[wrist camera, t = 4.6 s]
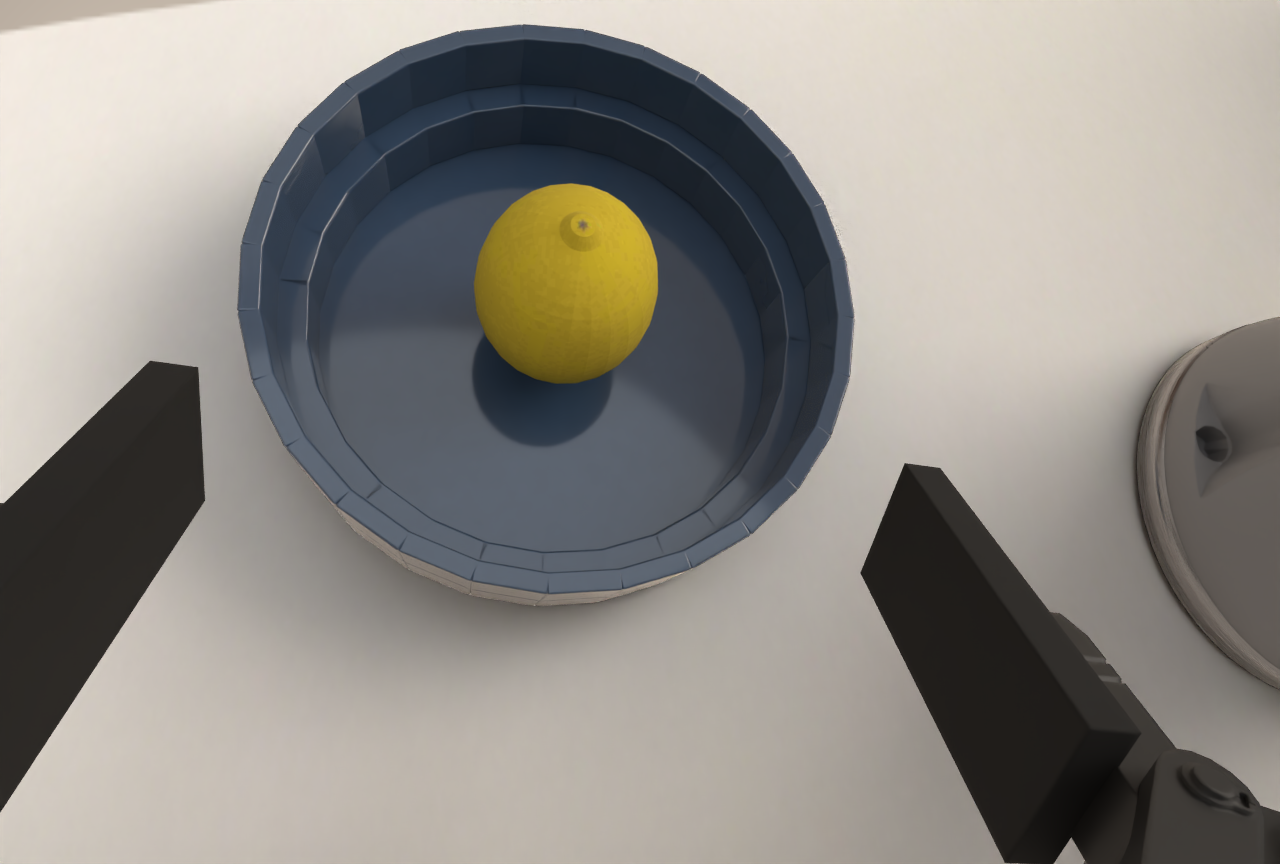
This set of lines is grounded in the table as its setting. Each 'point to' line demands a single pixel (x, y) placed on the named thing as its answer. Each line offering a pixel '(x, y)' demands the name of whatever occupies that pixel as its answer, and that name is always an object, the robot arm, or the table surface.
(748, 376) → the bowl
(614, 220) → the lemon
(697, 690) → the table surface
